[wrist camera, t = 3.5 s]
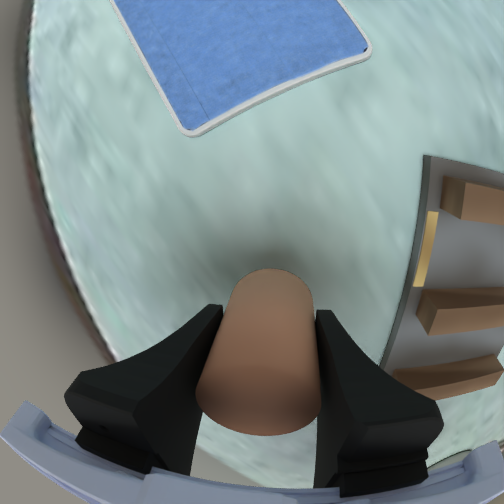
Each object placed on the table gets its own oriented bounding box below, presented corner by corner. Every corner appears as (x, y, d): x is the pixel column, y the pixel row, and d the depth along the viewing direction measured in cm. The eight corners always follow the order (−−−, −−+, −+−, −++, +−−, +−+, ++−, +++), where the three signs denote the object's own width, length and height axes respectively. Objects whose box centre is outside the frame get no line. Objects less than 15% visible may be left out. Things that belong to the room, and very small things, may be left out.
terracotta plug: (308, 338, 14) (311, 437, 8) (232, 334, 14) (204, 428, 9) (316, 270, 12) (331, 367, 7) (228, 266, 13) (186, 356, 7)
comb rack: (483, 367, 19) (496, 389, 16) (371, 385, 21) (378, 415, 17) (543, 187, 12) (569, 198, 8) (423, 155, 13) (453, 160, 10)
